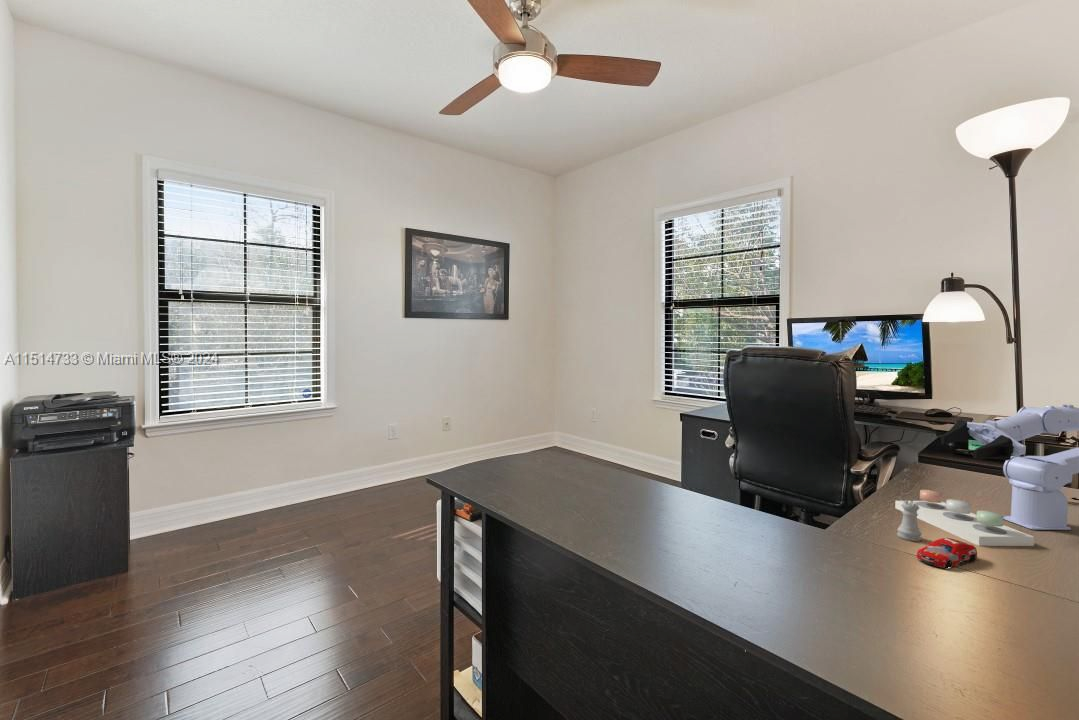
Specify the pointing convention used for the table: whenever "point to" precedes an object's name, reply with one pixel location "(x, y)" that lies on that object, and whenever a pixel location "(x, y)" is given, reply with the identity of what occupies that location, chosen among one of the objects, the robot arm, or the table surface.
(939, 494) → the terracotta button
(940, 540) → the race car
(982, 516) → the sage button
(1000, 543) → the button panel
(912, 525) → the rook chess piece
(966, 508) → the grey button
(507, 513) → the table surface
